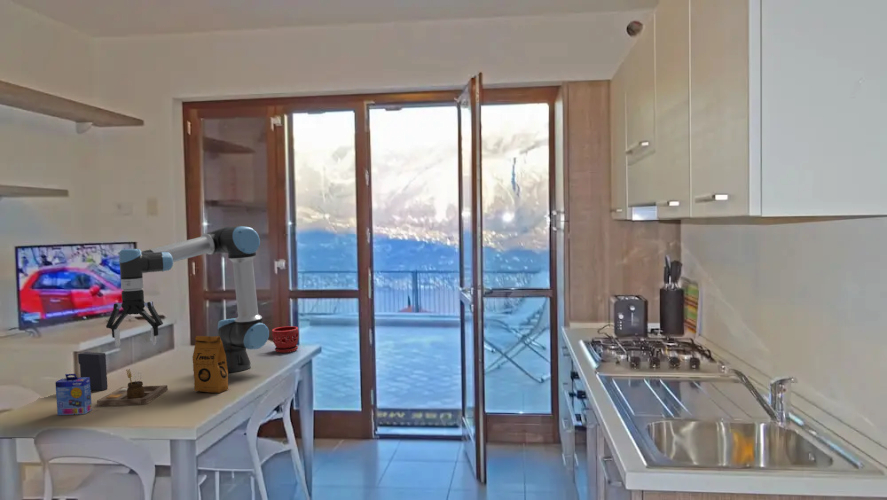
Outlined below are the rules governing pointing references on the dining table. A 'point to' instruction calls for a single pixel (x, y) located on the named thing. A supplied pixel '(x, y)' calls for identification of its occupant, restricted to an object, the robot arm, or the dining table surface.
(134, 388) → the utensil holder
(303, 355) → the dining table surface
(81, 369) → the black boxy piece
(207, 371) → the coffee package
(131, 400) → the socket board
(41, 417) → the dining table surface
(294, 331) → the plant pot
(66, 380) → the ink cartridge box
